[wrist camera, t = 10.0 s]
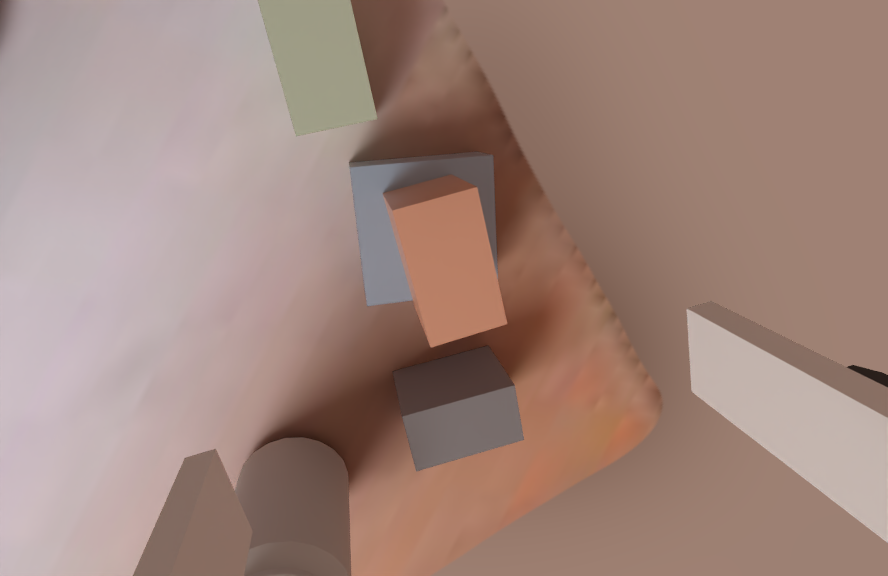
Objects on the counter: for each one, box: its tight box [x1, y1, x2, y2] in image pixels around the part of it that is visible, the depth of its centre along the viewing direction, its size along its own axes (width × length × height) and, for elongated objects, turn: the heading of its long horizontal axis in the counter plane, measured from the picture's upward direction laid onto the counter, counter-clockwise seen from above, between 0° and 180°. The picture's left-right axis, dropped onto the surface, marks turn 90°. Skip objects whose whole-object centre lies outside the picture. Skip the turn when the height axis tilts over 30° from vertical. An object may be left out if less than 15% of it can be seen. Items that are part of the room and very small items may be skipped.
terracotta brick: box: [382, 174, 507, 347], centre depth 27 cm, size 7×4×6 cm, turn 14°
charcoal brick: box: [392, 346, 524, 471], centre depth 35 cm, size 7×4×6 cm, turn 101°
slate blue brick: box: [349, 152, 498, 306], centre depth 32 cm, size 8×8×4 cm
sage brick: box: [258, 0, 377, 136], centre depth 27 cm, size 7×4×6 cm, turn 11°
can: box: [235, 437, 351, 576], centre depth 32 cm, size 8×8×12 cm
